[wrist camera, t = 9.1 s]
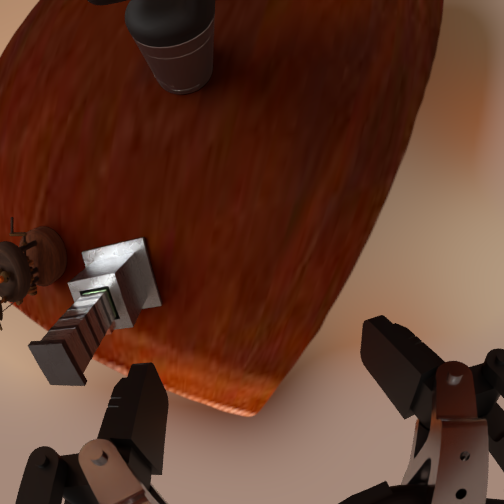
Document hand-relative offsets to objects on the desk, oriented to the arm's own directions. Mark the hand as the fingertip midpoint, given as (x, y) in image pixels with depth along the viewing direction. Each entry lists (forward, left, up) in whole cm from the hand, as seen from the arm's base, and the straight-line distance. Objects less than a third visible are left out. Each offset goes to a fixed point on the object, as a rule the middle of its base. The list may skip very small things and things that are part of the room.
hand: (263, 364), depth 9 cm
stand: (+6, -19, -35) cm, 40 cm away
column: (+6, -19, -29) cm, 35 cm away
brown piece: (-2, -34, -35) cm, 49 cm away
